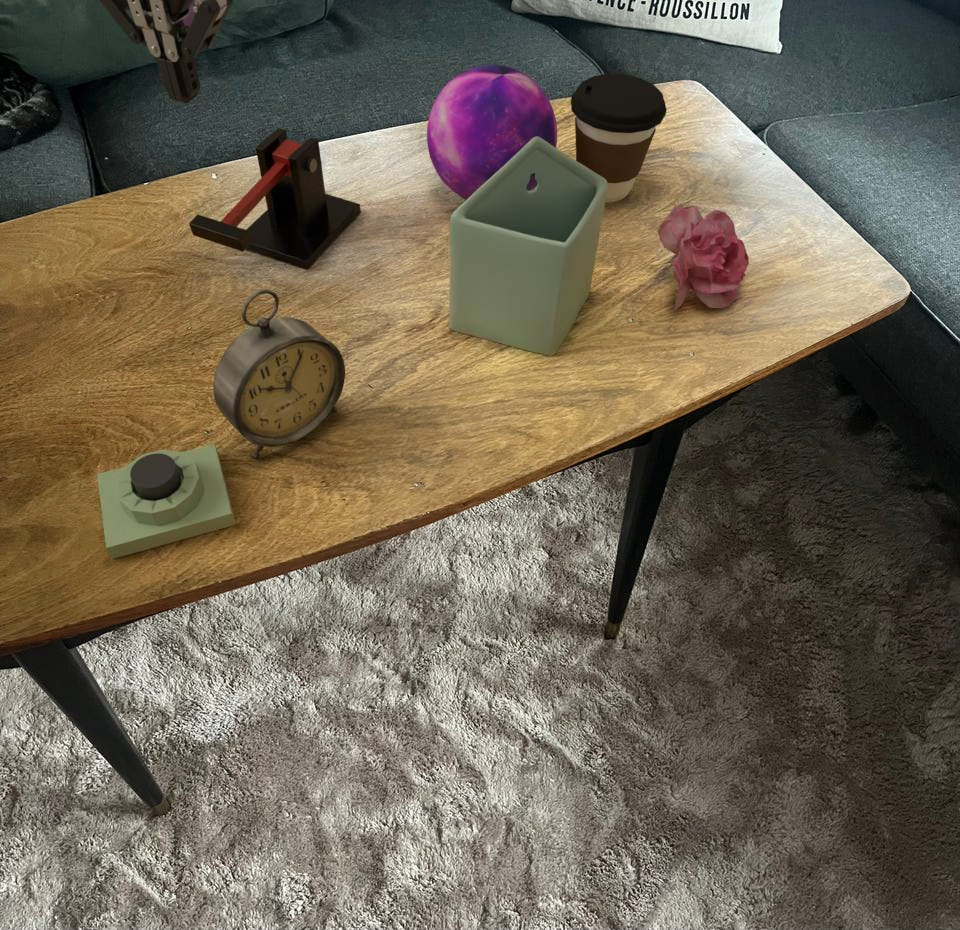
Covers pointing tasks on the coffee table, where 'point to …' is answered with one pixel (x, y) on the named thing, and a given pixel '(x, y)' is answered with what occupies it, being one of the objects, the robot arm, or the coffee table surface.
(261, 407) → the alarm clock
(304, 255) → the lever stand
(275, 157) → the red lever
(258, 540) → the coffee table surface
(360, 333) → the coffee table surface
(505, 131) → the decorative orb
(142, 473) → the call button
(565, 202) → the planter
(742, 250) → the flower
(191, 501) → the call button base
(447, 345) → the coffee table surface
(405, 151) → the coffee table surface
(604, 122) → the coffee cup
